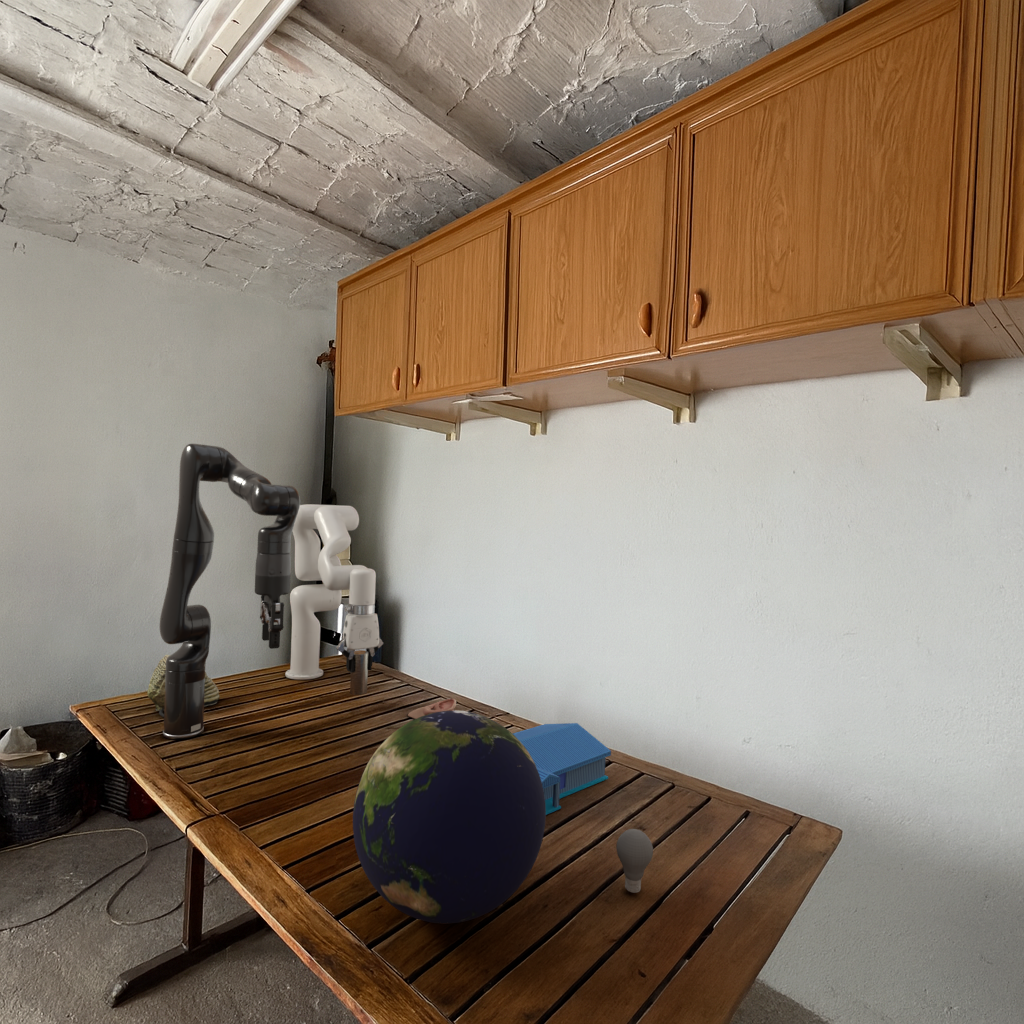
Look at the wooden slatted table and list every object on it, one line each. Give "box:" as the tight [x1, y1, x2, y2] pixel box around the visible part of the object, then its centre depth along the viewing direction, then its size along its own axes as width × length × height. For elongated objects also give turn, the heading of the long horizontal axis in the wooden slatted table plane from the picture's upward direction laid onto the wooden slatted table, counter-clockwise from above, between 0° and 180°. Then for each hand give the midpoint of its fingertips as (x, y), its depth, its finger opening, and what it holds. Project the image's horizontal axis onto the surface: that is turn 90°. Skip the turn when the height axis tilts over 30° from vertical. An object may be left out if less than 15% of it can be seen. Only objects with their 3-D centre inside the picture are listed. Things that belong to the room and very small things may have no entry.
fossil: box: [147, 654, 221, 712], centre depth 185 cm, size 9×18×15 cm, turn 132°
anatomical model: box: [407, 698, 457, 719], centre depth 186 cm, size 13×4×12 cm
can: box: [349, 649, 369, 696], centre depth 190 cm, size 5×5×12 cm
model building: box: [512, 722, 612, 816], centre depth 142 cm, size 39×24×10 cm, turn 132°
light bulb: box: [615, 828, 654, 894], centre depth 106 cm, size 6×6×10 cm
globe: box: [352, 709, 547, 925], centre depth 100 cm, size 30×30×30 cm
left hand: (270, 644), depth 144 cm, fingers open, 8 cm apart
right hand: (359, 669), depth 190 cm, fingers closed on can, 5 cm apart
